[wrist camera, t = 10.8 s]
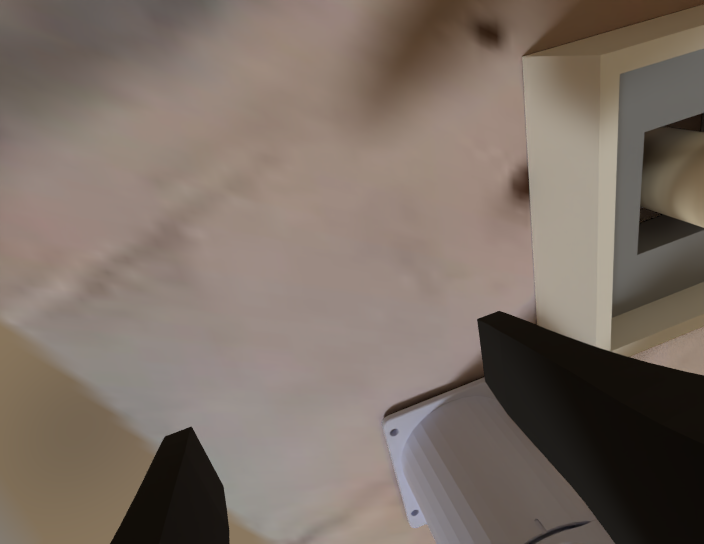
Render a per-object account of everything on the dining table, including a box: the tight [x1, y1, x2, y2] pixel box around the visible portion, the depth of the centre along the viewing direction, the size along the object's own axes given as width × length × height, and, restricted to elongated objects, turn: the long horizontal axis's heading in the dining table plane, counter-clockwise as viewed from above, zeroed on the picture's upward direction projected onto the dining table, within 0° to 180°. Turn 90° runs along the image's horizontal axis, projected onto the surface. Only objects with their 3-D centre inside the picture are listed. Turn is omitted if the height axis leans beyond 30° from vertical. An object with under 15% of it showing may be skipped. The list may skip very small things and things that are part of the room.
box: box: [522, 4, 704, 357], centre depth 22 cm, size 14×14×4 cm
